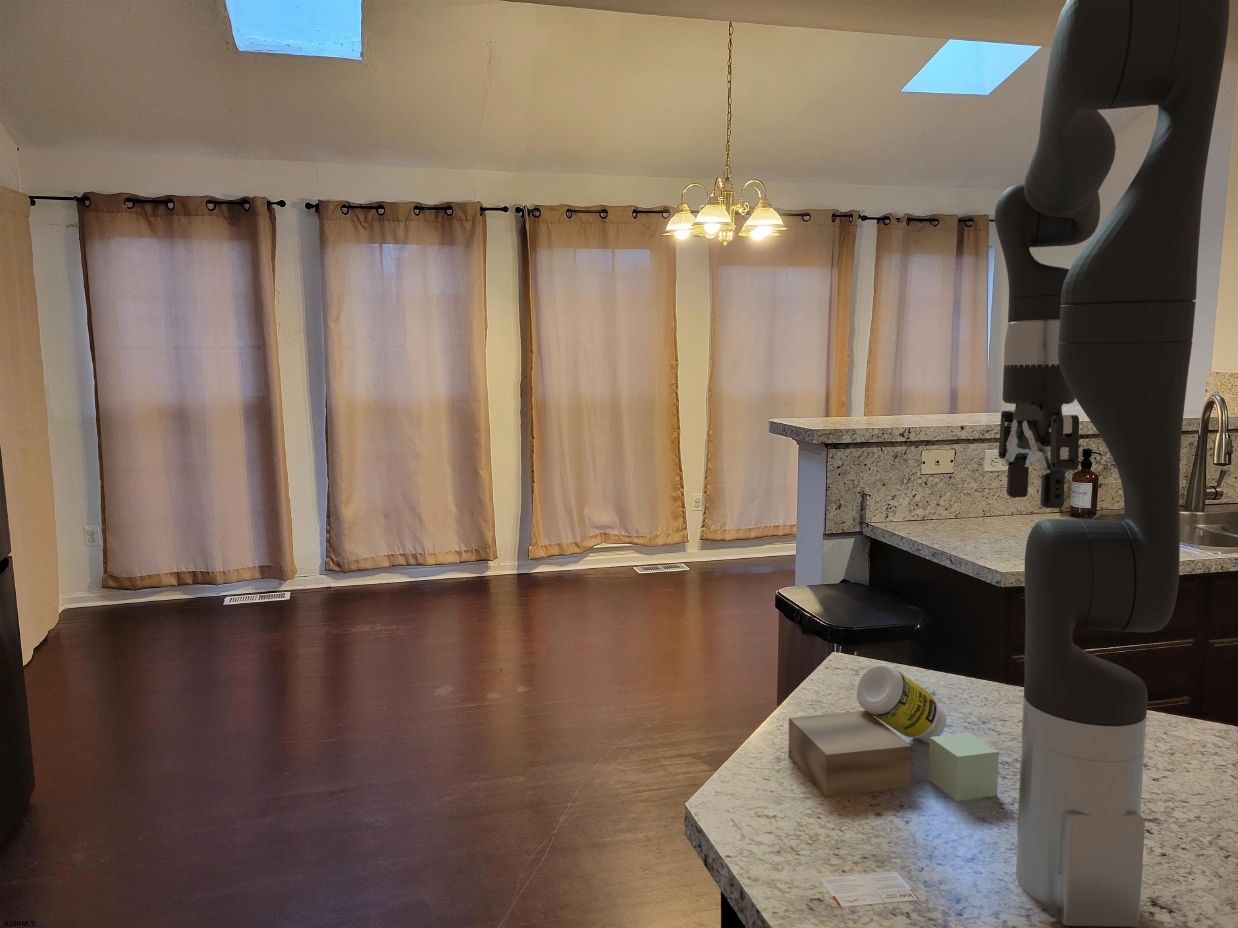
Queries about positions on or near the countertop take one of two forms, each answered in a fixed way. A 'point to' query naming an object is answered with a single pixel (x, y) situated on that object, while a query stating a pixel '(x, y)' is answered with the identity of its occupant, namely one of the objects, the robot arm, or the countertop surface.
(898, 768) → the walnut block
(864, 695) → the pill bottle
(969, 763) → the sage cube
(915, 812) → the countertop surface
